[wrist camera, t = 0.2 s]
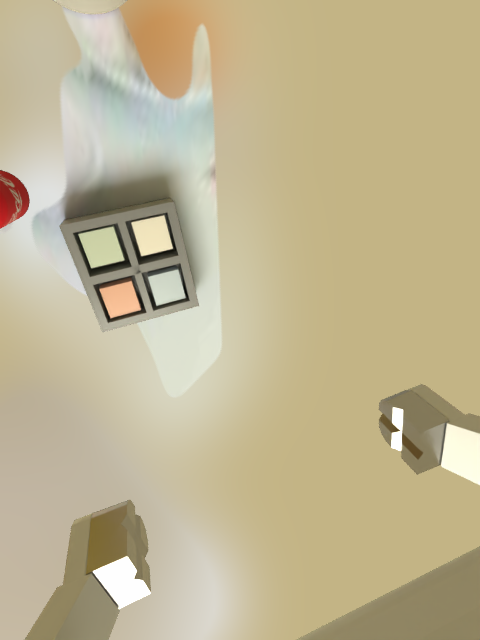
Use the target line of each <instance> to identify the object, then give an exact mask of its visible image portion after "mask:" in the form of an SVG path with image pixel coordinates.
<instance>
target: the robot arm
mask: <svg viewBox="0 0 480 640" xmlns="http://www.w3.org/2000/svg"><path fill="white" fill-rule="evenodd" d="M53 1H55V2H56V3H58V4H60V5H61V6H63V7H65V8H67V9H70V10H72V11H75V12H79V13H84V14H103V13H107V12H110V11H112V10H115V9H116V8H118V7H120V6H121V5H122V4H124V2H126V1H127V0H53ZM379 410H380V411H381V412H382V413H383V414H382V415H381V417H380V419H379V428H380V430H381V433H382V435H383V437H384V438H385V440H386V442H387V443H388V444H389V445H390V446H391V447H392V448H395V449H397V450H400V451H401V457H402V459H403V460H404V461H405V462H406V463H407V464H408V465H409V466H410V468H411V469H412V470H414V472H415V473H416V474H419V473H422V472H424V471H427V470H429V469H432V468H434V467H437V466H439V465H441V467H443V468H445V469H447V470H450V471H452V472H454V473H456V474H458V475H460V476H462V477H464V478H466V479H468V480H470V481H472V482H474V483H476V484H479V485H480V416H476V415H473V414H466V415H465V414H463V413H462V412H461V411H459V410H458V409H456V408H455V407H454V406H452V405H451V404H450V403H448V402H447V401H445V400H444V399H443V398H442V397H440V396H439V395H438V394H436V393H435V392H434V391H432V390H431V389H430V388H428V387H427V386H425V385H422V384H421V385H418V386H416V387H413V388H411V389H408V390H405V391H402V392H400V393H398V394H395V395H393V396H390V397H388V398H385V399H383V400H381V402H380V403H379ZM147 552H148V540H147V535H146V530H145V526H144V524H143V521H142V519H141V517H140V516H138V515H135V506H134V504H133V503H132V501H131V500H127V501H125V502H122V503H119V504H117V505H114V506H111V507H108V508H105V509H103V510H100V511H97V512H94V513H92V514H90V515H87V516H84V517H82V518H79V519H76V520H74V523H73V525H72V527H71V533H70V540H69V547H68V554H67V560H66V567H65V575H64V581H63V585H62V586H59V587H57V588H56V590H55V592H54V593H53V595H52V597H51V598H50V600H49V601H48V603H47V605H46V606H45V608H44V610H43V611H42V613H41V614H40V616H39V618H38V619H37V621H36V622H35V624H34V625H33V627H32V629H31V630H30V632H29V633H28V635H27V637H26V638H25V640H108V639H109V637H110V634H111V632H112V629H113V626H114V624H115V621H116V619H117V616H118V614H119V608H121V607H123V606H125V605H128V604H130V603H131V602H134V601H136V600H138V599H140V598H142V597H144V596H146V595H148V594H150V593H151V587H150V569H149V566H148V564H147V562H146V560H145V559H144V558H145V556H146V554H147ZM297 640H480V546H479V547H478V548H476V549H474V550H472V551H470V552H468V553H466V554H464V555H462V556H460V557H458V558H456V559H454V560H452V561H450V562H448V563H446V564H444V565H442V566H440V567H438V568H436V569H434V570H432V571H430V572H429V573H426V574H425V575H423V576H421V577H419V578H417V579H415V580H413V581H411V582H409V583H407V584H405V585H403V586H401V587H399V588H397V589H395V590H393V591H391V592H389V593H387V594H385V595H383V596H381V597H379V598H377V599H375V600H373V601H371V602H370V603H367V604H365V605H364V606H362V607H360V608H358V609H356V610H354V611H352V612H350V613H348V614H346V615H344V616H342V617H340V618H338V619H336V620H334V621H332V622H330V623H328V624H326V625H324V626H322V627H320V628H318V629H316V630H315V631H312V632H311V633H308V634H307V635H305V636H303V637H301V638H299V639H297Z"/></svg>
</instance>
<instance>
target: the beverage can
mask: <svg viewBox="0 0 480 640" xmlns="http://www.w3.org/2000/svg"><path fill="white" fill-rule="evenodd" d="M28 207H29V195H28V192H27V189H26V188H25V186H24V185H23V184H22V182H21V181H20V180H19V179H18V178H16V177H15V176H14V175H12V174H10V173H8V172H5V171H2V170H0V229H1V228H2V227H4V226H6V225H8V224H10V223H11V222H13V221H15V220H16V219H18V218H20V217H22V216H23V215H24V214H25V213H26V211H27V210H28Z"/></svg>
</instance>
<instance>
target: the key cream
mask: <svg viewBox="0 0 480 640" xmlns="http://www.w3.org/2000/svg"><path fill="white" fill-rule="evenodd" d="M131 224H132V227H133V230H134V234H135V237H136V240H137V243H138V247H139V250H140V253H141V256H145V255H149V254H153V253H157V252H161V251H166V250H170V249H173V247H172V243H171V239H170V235H169V232H168V228H167V224H166V220H165V216H164V214H163V213H162V214H158V215H153V216H148V217H144V218H139V219H135V220H131Z"/></svg>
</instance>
